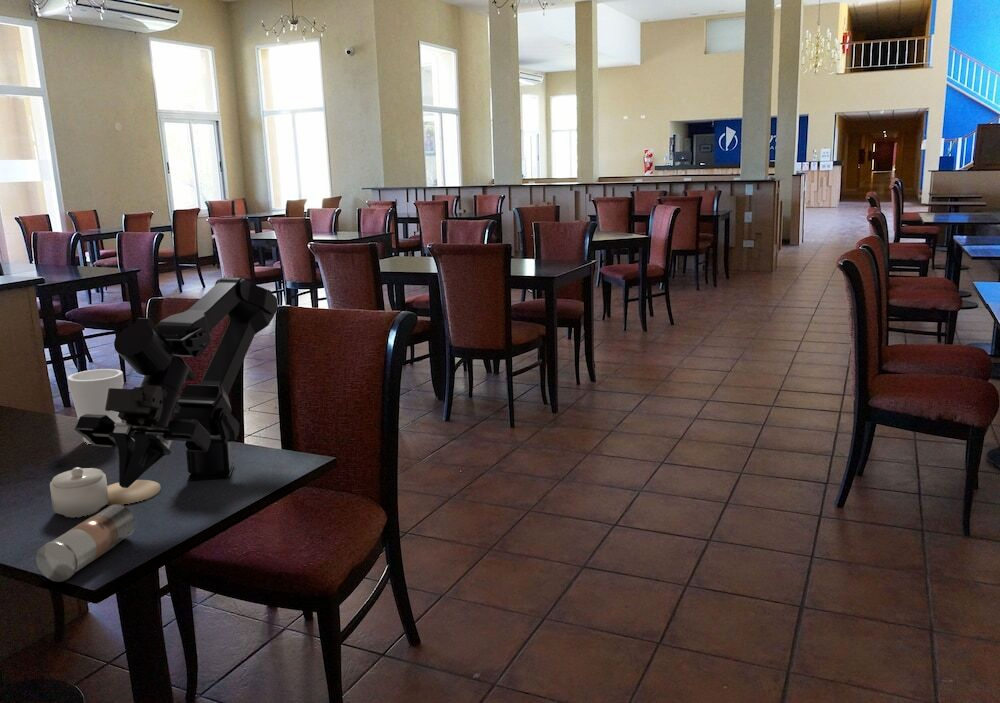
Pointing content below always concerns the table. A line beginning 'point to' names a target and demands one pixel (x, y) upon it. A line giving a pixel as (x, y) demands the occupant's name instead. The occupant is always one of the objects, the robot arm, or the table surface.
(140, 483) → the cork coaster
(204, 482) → the table surface
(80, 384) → the foam cup
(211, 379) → the robot arm
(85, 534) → the tea canister
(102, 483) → the sugar bowl
